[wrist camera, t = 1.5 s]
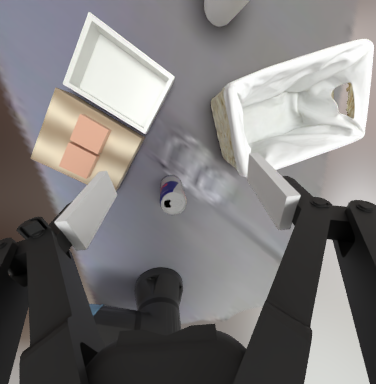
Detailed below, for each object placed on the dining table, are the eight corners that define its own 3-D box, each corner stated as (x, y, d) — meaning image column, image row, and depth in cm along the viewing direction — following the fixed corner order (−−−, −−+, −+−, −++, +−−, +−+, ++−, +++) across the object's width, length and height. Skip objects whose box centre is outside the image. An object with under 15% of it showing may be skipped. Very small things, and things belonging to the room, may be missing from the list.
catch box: (147, 133, 39) (145, 134, 35) (75, 89, 34) (62, 83, 30) (173, 82, 36) (174, 76, 32) (98, 27, 31) (88, 11, 27)
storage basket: (303, 64, 38) (381, 29, 24) (305, 136, 44) (368, 140, 31) (203, 97, 38) (225, 79, 24) (219, 165, 44) (244, 182, 30)
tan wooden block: (119, 187, 42) (112, 196, 37) (50, 153, 38) (30, 158, 32) (145, 137, 39) (142, 138, 33) (73, 94, 34) (55, 87, 29)
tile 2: (90, 176, 35) (86, 179, 33) (64, 164, 33) (58, 166, 31) (100, 155, 33) (96, 156, 32) (74, 141, 32) (68, 142, 30)
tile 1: (101, 152, 33) (97, 154, 31) (75, 139, 32) (69, 139, 30) (111, 130, 32) (108, 130, 30) (85, 114, 31) (80, 113, 29)
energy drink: (159, 175, 43) (158, 192, 31) (180, 173, 43) (186, 189, 32) (161, 195, 45) (161, 217, 33) (182, 193, 45) (188, 214, 34)
